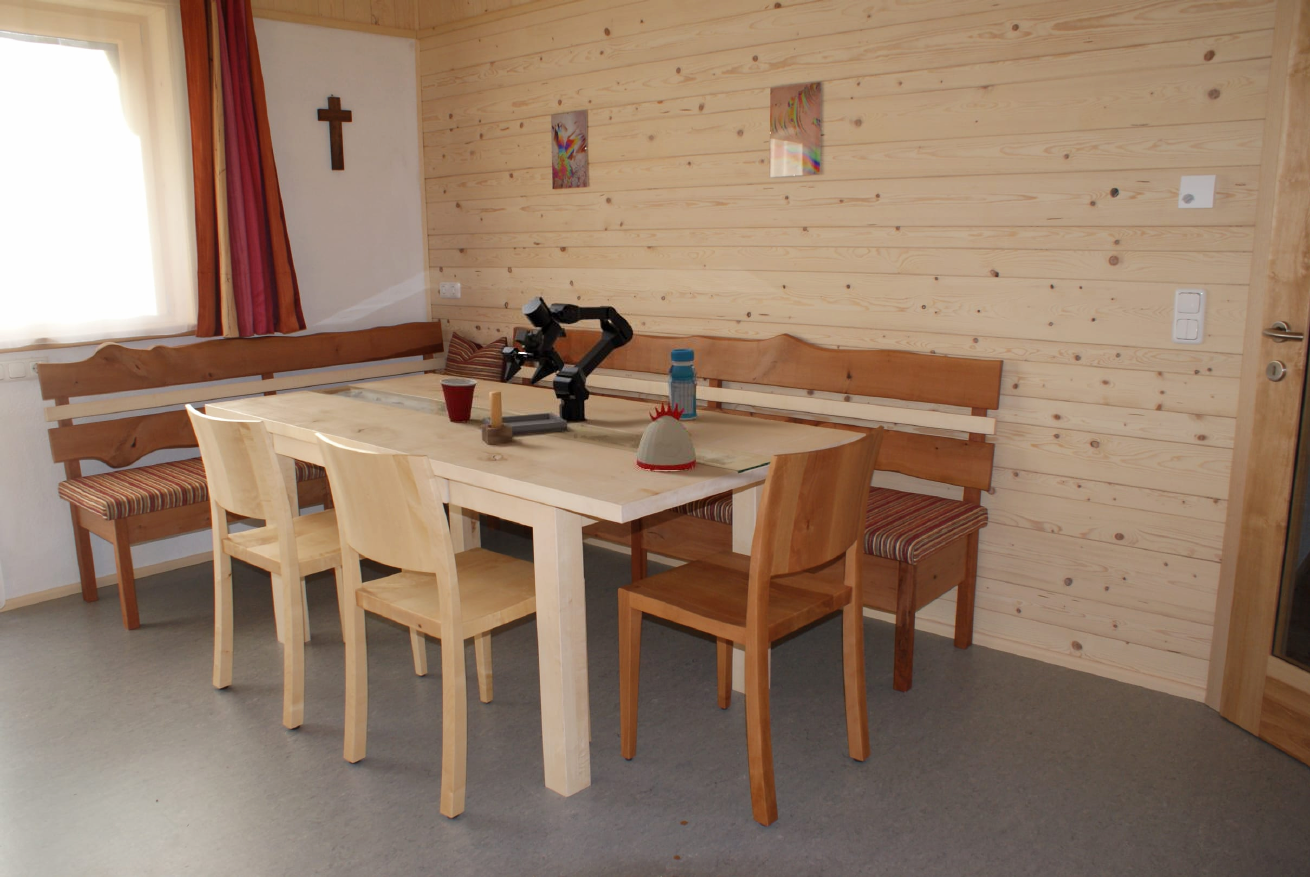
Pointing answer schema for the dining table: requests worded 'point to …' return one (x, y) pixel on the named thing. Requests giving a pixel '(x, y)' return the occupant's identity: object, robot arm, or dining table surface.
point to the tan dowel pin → (495, 409)
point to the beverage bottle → (683, 383)
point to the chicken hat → (666, 443)
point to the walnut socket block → (497, 434)
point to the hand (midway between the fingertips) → (518, 382)
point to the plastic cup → (458, 397)
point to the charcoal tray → (533, 423)
